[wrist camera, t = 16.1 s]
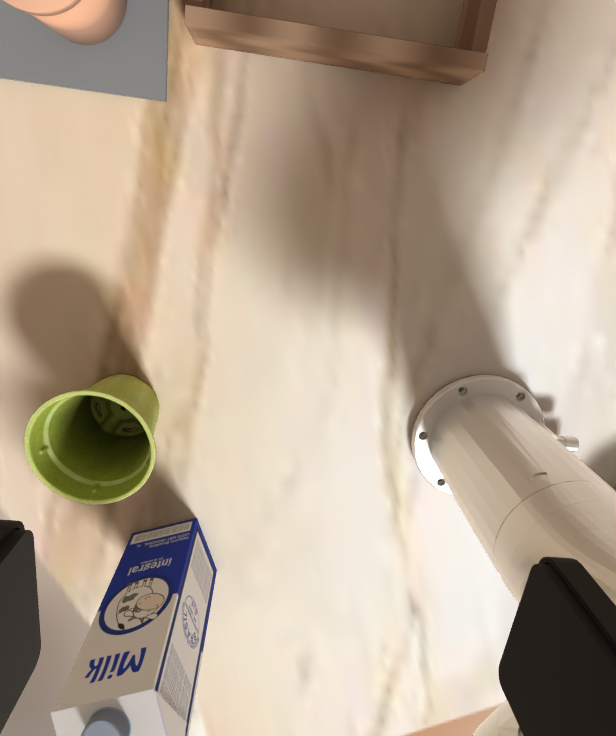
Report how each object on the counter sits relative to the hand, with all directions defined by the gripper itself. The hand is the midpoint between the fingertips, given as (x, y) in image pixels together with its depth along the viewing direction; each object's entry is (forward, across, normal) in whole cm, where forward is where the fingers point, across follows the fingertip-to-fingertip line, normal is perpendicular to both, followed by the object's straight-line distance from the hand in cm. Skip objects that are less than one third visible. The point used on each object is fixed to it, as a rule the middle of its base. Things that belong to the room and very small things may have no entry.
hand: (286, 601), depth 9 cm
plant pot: (+34, +13, +12) cm, 39 cm away
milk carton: (+34, +8, +28) cm, 45 cm away
